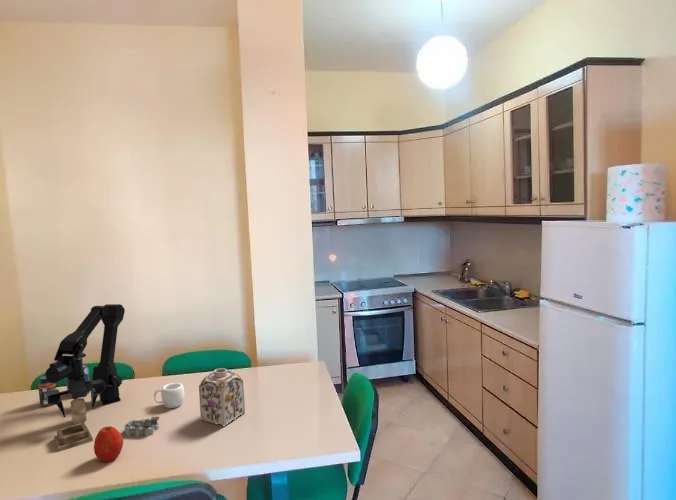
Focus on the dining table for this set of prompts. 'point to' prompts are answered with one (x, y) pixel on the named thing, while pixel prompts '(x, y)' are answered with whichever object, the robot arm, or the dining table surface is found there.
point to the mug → (171, 395)
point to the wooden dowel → (78, 410)
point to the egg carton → (136, 426)
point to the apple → (108, 444)
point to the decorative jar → (221, 396)
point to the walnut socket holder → (72, 436)
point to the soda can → (86, 373)
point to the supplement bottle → (45, 390)
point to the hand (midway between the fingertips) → (78, 413)
